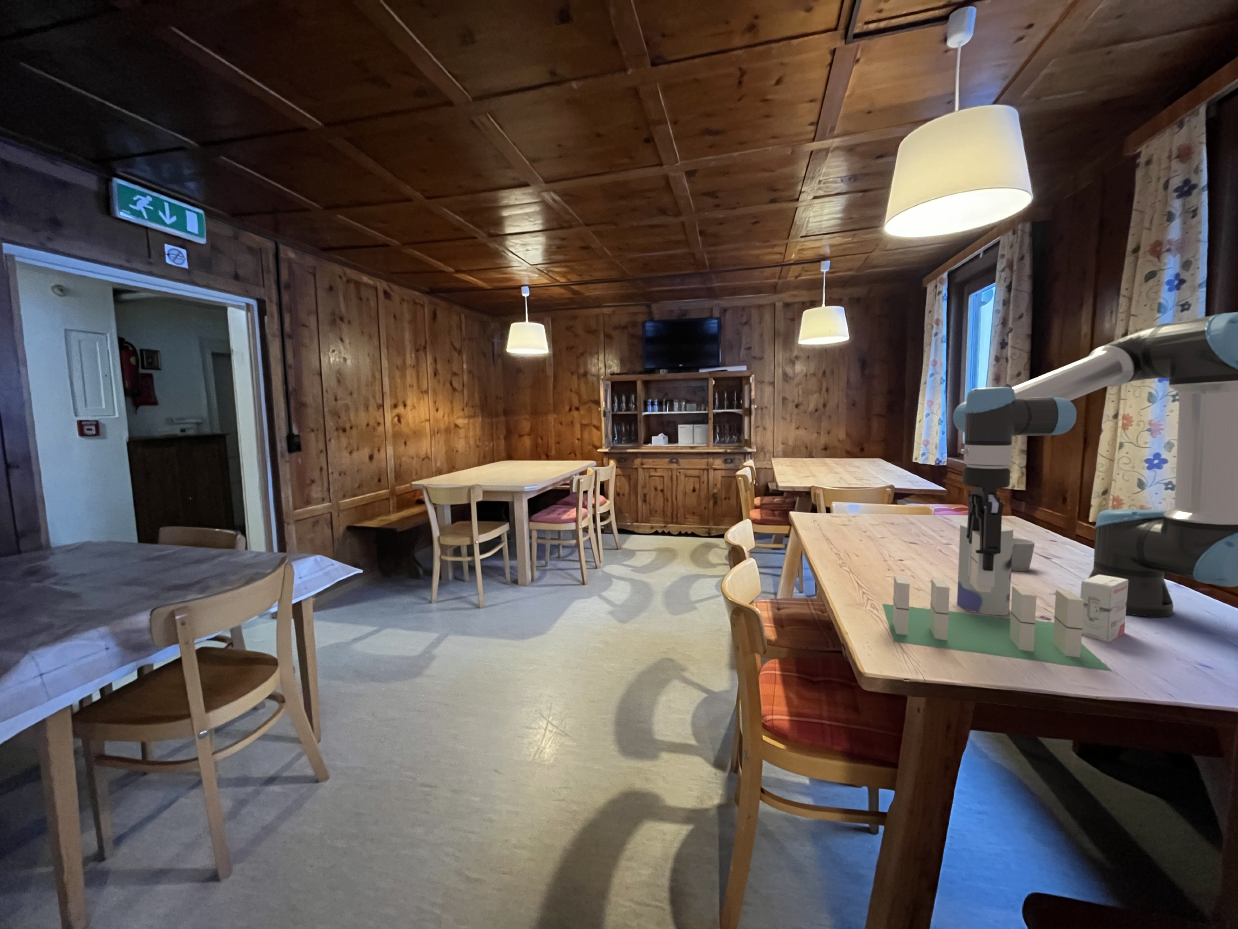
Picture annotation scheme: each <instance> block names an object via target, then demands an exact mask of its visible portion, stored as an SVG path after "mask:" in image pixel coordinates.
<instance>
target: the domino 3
mask: <svg viewBox="0 0 1238 929" xmlns="http://www.w3.org/2000/svg"><path fill="white" fill-rule="evenodd" d="M990 547H991V546H990ZM976 550H980V531H972V549H971V570H970V583H971V585H972V586H973V587H974V588H975V589H976V590H977V591H980V592H990V593H991V587H988V586H977V584H976V583H977V562H978V553H976Z"/></svg>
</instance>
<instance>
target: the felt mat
mask: <svg viewBox="0 0 1238 929" xmlns="http://www.w3.org/2000/svg"><path fill="white" fill-rule="evenodd" d="M882 607H883V611H884V615H885V617H886V618H885V619H886V621H887V624H888V627H889V632H890V634H891V637H892V641H893V642H894V643H902V644H910V645H916V646H917V645H918V646H921V647H922V646H924V647H929V648H939V649H944V650H945V649H946V650H950V651H951V650H953V651H961V652H966V653H973V654H974V653H975V654H982V655H990V656H996V657H997V656H998V657H1002V658H1003V657H1004V658H1010V659H1019V660H1027V661H1034V662H1040V663H1049V664H1055V665H1063V666H1071V667H1078V668H1086V669H1091V670H1093V669H1094V670H1097V671H1098V670H1100V671H1106V672H1107V671H1108V672H1113V670H1112V669H1111V668H1110V667H1109V666H1108V665H1106V664H1105V663H1104V662H1103V661H1102V660H1101V659H1100V658H1098V657H1097V655H1096V654H1094V653H1093V652H1092V651H1091V650H1090V649H1089V648H1087V647H1086V646H1085V645H1084V644H1083V643H1082V642H1081V653H1080V658H1079V657H1072V656H1065V655H1064V654H1063V653H1062V652H1061V651H1060V650H1059V649H1058V648H1057V647H1056V646H1055V645H1054V644H1053V633H1054V622H1051V621H1042V620H1035V633H1034V651H1026V650H1019V649H1018V647H1017V646H1016V645H1015V644H1014V643H1013V641H1012V640H1011V639H1010V620H1011V617H1005V616H999V615H990V614H981V613H969V612H961V611H960V612H959V611H951V610H949V616H948V640H941V639H935V638H934V636H933V634H932V632H931V630H930V608H926V607H925V608H924V607H915V606H909V619H908V635H903V634H896V632H895V629H894V626H893V604H887V603H882Z"/></svg>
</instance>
